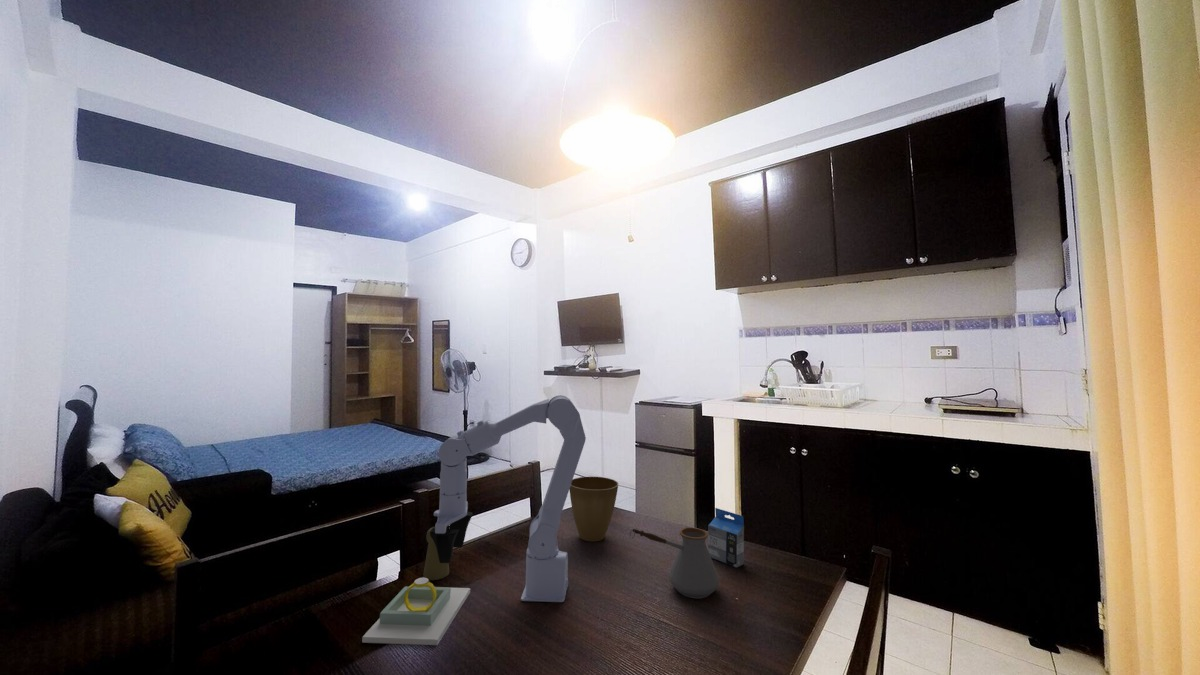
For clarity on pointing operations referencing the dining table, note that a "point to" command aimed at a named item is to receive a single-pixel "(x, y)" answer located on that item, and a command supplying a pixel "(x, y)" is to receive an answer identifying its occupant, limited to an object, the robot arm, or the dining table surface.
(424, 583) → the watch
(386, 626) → the pocket plate
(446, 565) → the olive pawn shaped peg
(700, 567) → the coffee pot
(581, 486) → the plant pot
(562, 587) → the robot arm
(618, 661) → the dining table surface
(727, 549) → the label tape box
